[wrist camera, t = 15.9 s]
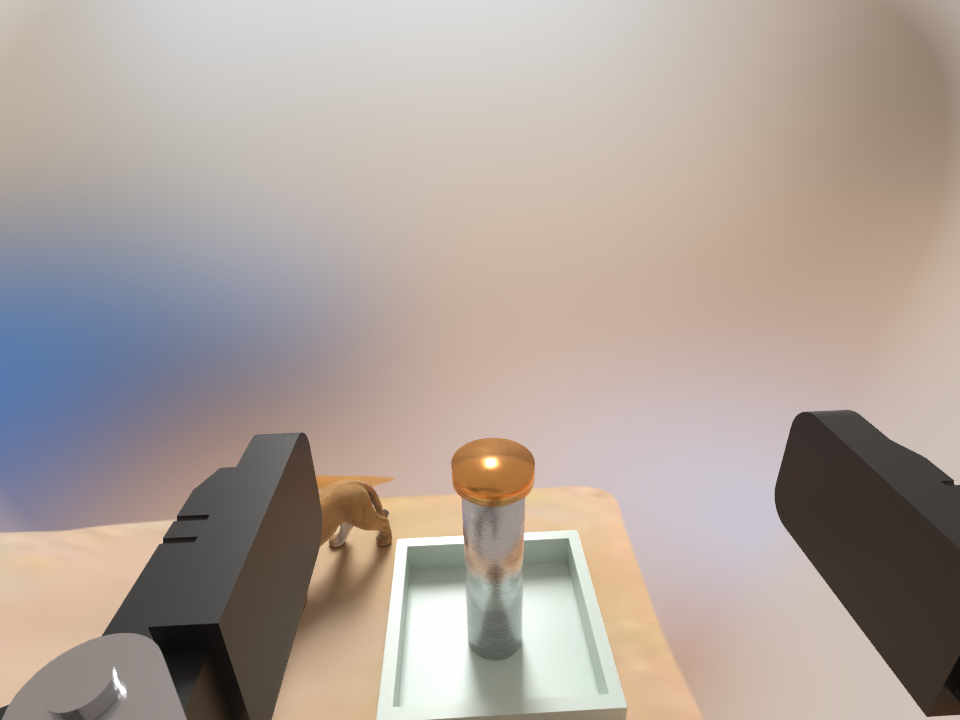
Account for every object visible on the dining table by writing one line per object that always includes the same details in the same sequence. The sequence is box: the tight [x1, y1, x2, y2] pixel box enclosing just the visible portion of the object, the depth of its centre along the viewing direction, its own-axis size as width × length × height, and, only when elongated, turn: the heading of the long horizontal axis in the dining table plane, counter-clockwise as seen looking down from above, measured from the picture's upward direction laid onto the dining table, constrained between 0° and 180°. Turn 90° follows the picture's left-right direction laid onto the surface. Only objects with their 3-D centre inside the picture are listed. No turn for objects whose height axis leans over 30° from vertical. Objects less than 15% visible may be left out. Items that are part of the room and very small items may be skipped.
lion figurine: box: [303, 479, 392, 608], centre depth 42 cm, size 15×5×9 cm, turn 147°
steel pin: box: [451, 438, 535, 661], centre depth 35 cm, size 5×5×14 cm
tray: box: [377, 530, 627, 720], centre depth 37 cm, size 14×14×3 cm
